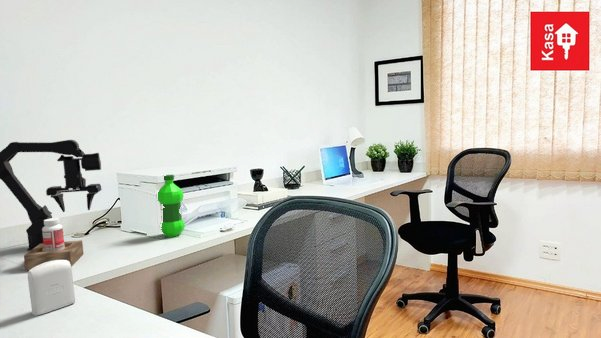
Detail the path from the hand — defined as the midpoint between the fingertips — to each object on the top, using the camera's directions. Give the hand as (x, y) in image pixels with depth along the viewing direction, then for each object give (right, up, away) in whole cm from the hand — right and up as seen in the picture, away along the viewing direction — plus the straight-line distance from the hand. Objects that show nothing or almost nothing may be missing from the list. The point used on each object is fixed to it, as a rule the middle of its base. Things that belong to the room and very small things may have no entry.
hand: (76, 211), depth 176 cm
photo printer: (+25, -20, -61) cm, 68 cm away
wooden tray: (+4, -16, -22) cm, 27 cm away
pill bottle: (+4, -12, -22) cm, 26 cm away
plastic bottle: (+36, -11, +8) cm, 38 cm away
